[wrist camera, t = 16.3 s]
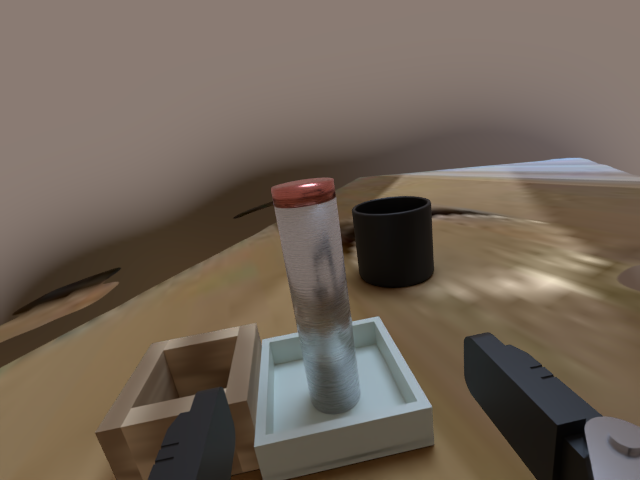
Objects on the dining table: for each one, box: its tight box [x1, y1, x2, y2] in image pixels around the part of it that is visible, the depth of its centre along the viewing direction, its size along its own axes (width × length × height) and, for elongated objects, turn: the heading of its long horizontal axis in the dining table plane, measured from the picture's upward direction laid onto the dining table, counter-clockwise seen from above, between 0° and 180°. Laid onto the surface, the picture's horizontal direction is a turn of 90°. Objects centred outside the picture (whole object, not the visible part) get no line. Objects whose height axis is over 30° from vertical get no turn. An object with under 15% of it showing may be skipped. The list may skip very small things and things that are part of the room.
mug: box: [352, 196, 434, 287], centre depth 42 cm, size 9×12×9 cm
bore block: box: [95, 323, 262, 480], centre depth 22 cm, size 8×8×5 cm
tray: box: [254, 316, 434, 480], centre depth 23 cm, size 10×10×3 cm
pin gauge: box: [271, 178, 361, 414], centre depth 21 cm, size 4×4×15 cm
